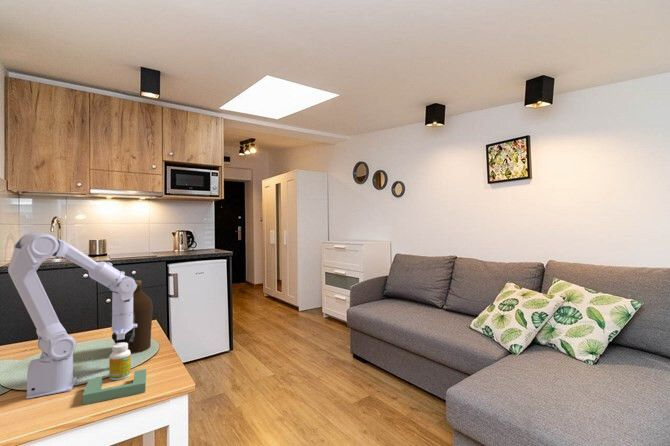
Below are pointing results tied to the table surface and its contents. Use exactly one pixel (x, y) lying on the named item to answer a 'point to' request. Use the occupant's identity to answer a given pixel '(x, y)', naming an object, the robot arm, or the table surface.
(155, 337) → the table surface
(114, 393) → the green u-shaped block
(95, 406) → the table surface
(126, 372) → the supplement bottle
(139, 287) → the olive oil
